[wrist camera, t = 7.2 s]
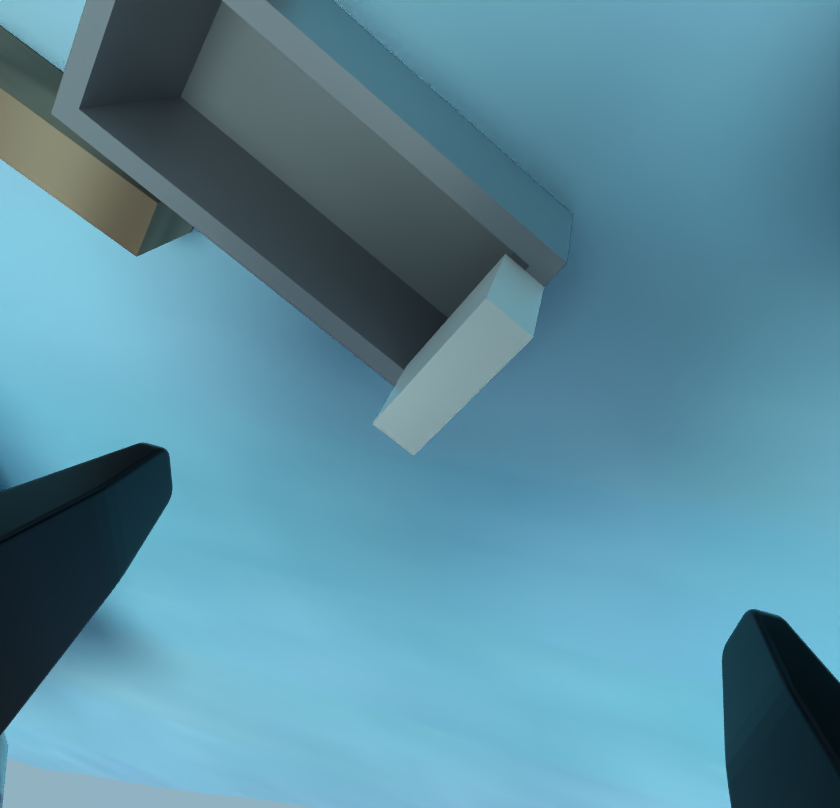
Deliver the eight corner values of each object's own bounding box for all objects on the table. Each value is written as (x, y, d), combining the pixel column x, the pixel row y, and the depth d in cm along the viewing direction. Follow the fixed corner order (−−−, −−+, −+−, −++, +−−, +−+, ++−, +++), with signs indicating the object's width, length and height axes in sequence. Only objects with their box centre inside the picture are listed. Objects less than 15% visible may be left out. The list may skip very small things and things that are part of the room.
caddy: (573, 213, 18) (560, 311, 12) (458, 338, 21) (394, 474, 14) (243, -80, 17) (4, -167, 10) (168, 99, 19) (-57, 126, 13)
